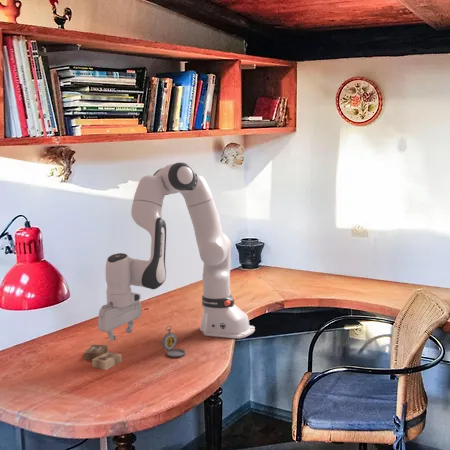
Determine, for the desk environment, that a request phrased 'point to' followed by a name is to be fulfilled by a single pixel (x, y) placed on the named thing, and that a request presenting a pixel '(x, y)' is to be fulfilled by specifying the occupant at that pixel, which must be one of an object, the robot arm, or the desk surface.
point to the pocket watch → (171, 344)
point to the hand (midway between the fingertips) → (121, 336)
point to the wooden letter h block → (95, 351)
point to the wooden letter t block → (106, 360)
